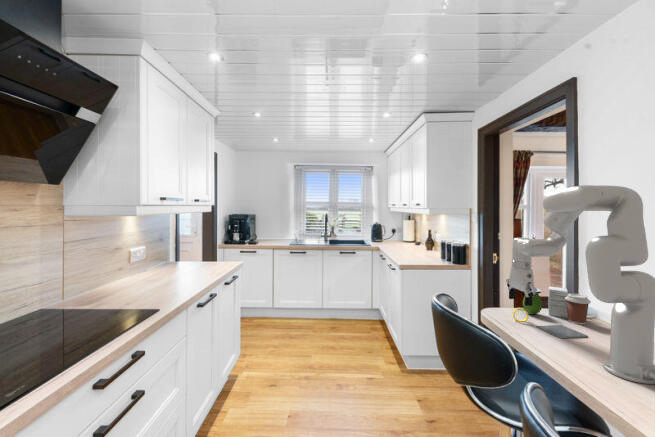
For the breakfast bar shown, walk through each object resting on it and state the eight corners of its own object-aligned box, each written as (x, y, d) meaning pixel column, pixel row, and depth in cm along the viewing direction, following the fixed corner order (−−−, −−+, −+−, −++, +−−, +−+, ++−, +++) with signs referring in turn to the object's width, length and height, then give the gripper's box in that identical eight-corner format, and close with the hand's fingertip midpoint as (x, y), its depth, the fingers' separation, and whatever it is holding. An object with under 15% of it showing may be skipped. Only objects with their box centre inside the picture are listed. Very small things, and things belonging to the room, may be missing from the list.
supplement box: (548, 311, 156) (548, 286, 155) (566, 314, 151) (567, 288, 151) (548, 315, 150) (548, 289, 150) (567, 318, 145) (568, 291, 145)
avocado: (523, 315, 149) (524, 290, 149) (521, 310, 156) (521, 286, 156) (543, 317, 146) (544, 292, 145) (540, 312, 153) (541, 288, 152)
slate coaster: (588, 337, 123) (588, 335, 123) (561, 338, 122) (561, 337, 121) (561, 326, 135) (561, 324, 135) (536, 327, 133) (536, 325, 133)
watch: (526, 321, 142) (527, 308, 141) (528, 323, 139) (529, 310, 139) (511, 319, 143) (513, 306, 143) (513, 321, 141) (514, 308, 141)
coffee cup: (559, 319, 143) (560, 294, 143) (571, 317, 147) (571, 292, 146) (582, 326, 135) (583, 299, 134) (594, 323, 138) (595, 296, 138)
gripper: (544, 268, 133) (543, 308, 133) (514, 261, 150) (513, 296, 151) (528, 269, 132) (527, 308, 132) (500, 261, 149) (499, 296, 150)
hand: (520, 302), depth 142 cm, fingers open, 9 cm apart
